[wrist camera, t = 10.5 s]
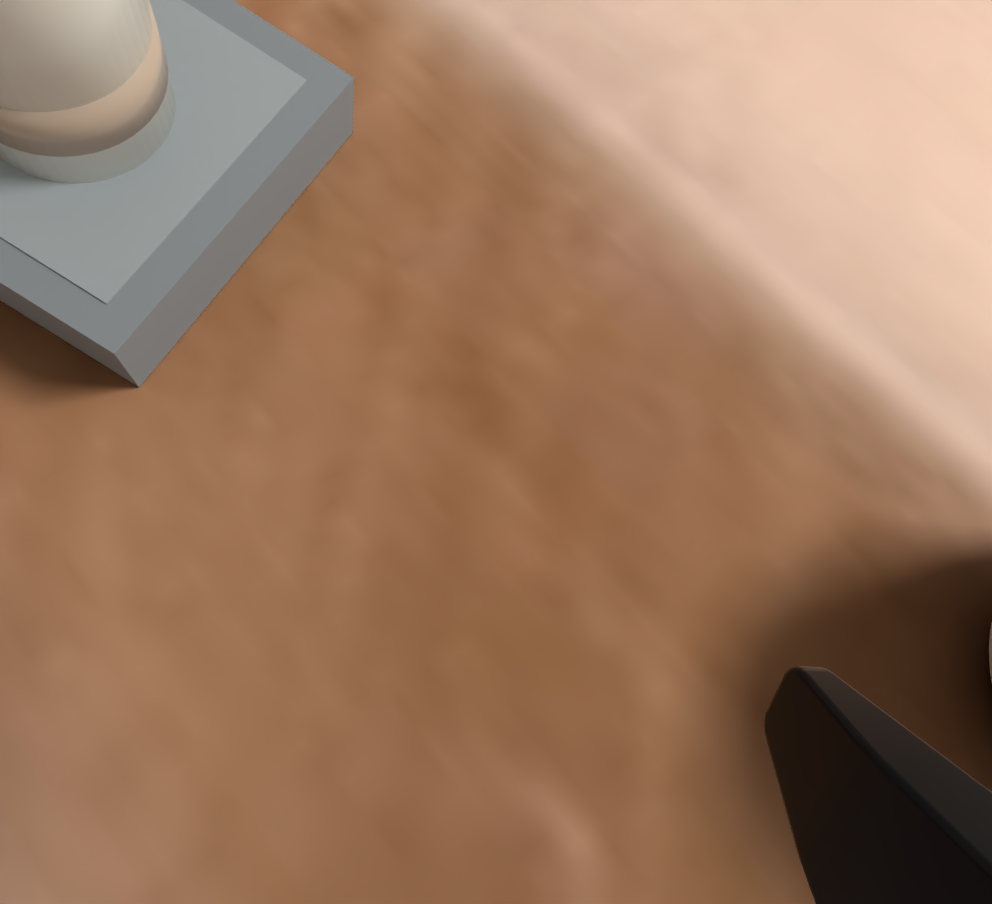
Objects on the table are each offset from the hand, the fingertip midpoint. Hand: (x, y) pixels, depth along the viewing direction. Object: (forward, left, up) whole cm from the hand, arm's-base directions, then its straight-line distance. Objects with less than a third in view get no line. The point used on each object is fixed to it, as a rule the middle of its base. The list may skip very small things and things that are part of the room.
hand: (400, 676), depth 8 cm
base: (+9, +15, -14) cm, 22 cm away
